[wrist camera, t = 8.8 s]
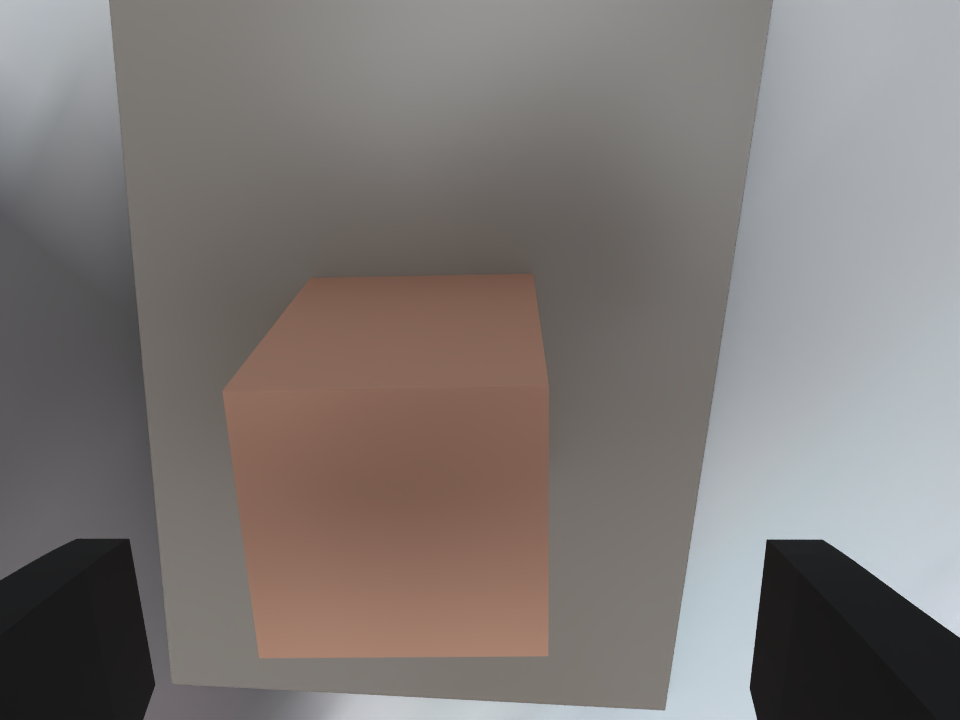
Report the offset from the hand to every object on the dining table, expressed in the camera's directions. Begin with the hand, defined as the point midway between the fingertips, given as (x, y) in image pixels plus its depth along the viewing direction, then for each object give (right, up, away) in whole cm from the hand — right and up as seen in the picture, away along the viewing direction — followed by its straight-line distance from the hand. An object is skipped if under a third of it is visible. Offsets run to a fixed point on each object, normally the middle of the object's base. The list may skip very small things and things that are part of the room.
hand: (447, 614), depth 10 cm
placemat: (-1, +2, +9) cm, 9 cm away
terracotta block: (-1, +2, +9) cm, 9 cm away
